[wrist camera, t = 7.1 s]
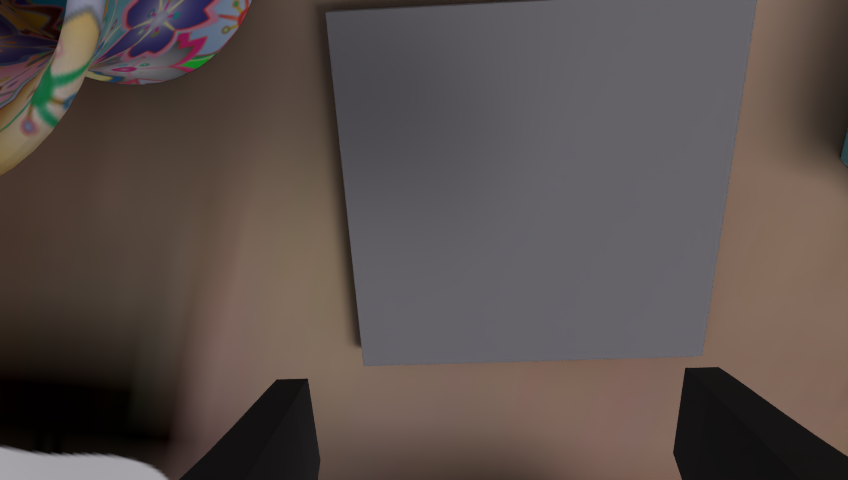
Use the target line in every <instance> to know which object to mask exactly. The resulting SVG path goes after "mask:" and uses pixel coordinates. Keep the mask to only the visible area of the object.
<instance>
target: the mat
mask: <svg viewBox="0 0 848 480" xmlns="http://www.w3.org/2000/svg"><path fill="white" fill-rule="evenodd" d="M756 3H757V0H516V1H497V2H479V3H460V4H441V5H423V6H404V7H385V8H366V9H348V10H331V11H328V12H325V14H326V23H327V33H328V42H329V51H330V60H331V69H332V79H333V88H334V97H335V106H336V116H337V125H338V134H339V143H340V153H341V162H342V171H343V180H344V189H345V199H346V208H347V217H348V226H349V236H350V245H351V254H352V263H353V272H354V282H355V291H356V300H357V309H358V319H359V328H360V337H361V346H362V356H363V365H364V366H381V365H416V364H451V363H486V362H520V361H555V360H590V359H624V358H659V357H694V356H702V352H703V346H704V339H705V333H706V327H707V320H708V314H709V307H710V301H711V294H712V288H713V281H714V275H715V268H716V262H717V255H718V249H719V243H720V236H721V230H722V223H723V217H724V210H725V204H726V197H727V191H728V184H729V178H730V171H731V165H732V159H733V152H734V146H735V139H736V133H737V126H738V120H739V113H740V107H741V100H742V94H743V87H744V81H745V74H746V68H747V62H748V55H749V49H750V42H751V36H752V29H753V23H754V16H755V10H756Z"/></svg>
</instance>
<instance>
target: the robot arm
mask: <svg viewBox="0 0 848 480" xmlns="http://www.w3.org/2000/svg"><path fill="white" fill-rule="evenodd" d="M673 454H674V457H675V460H676V463H677V466H678V469H679V472H680V475H681V478H682V480H848V457H847V456H846V455H844V454H843V453H841V452H840V451H838V450H837V449H835V448H834V447H832V446H831V445H829V444H828V443H826V442H825V441H823V440H822V439H820V438H819V437H817V436H816V435H814V434H813V433H811V432H810V431H809V430H807V429H806V428H804V427H803V426H801V425H800V424H798V423H797V422H796V421H794V420H793V419H791V418H790V417H789V416H787V415H786V414H784V413H783V412H781V411H780V410H779V409H777V408H776V407H774V406H773V405H772V404H770V403H769V402H768V401H766V400H765V399H763V398H762V397H761V396H759V395H758V394H756V393H755V392H754V391H752V390H751V389H749V388H748V387H747V386H745V385H744V384H742V383H741V382H740V381H738V380H737V379H735V378H734V377H732V376H731V375H730V374H728V373H727V372H725V371H723V370H722V369H720V368H719V367H707V368H685V374H684V381H683V388H682V395H681V402H680V409H679V416H678V423H677V430H676V437H675V444H674V451H673ZM319 466H320V455H319V449H318V442H317V436H316V429H315V423H314V416H313V410H312V403H311V397H310V390H309V384H308V379H280V380H276V381H275V382H274V383H273V384H272V385H271V386H270V387H269V388H268V389H267V390H266V391H265V392H264V393H263V395H262V396H261V397H260V398H259V399H258V400H257V401H256V402H255V403H254V404H253V405H252V406H251V408H250V409H249V410H248V411H247V412H246V413H245V414H244V415H243V416H242V417H241V418H240V419H239V421H238V422H237V423H236V424H235V425H234V426H233V427H232V428H231V429H230V430H229V431H228V432H227V433H226V434H225V435H224V436H223V437H222V438H221V439H220V440H219V441H218V442H217V443H216V444H215V446H214V447H213V448H212V449H211V450H210V451H209V452H208V453H207V454H206V455H205V456H204V457H203V458H202V459H201V460H200V461H198V462H197V463H196V464H195V465H194V466H193V467H192V468H191V469H190V470H189V471H188V472H187V473H186V474H185V475H184V476H183V477H181V478H180V479H179V480H318V473H319Z"/></svg>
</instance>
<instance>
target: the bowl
mask: <svg viewBox="0 0 848 480" xmlns="http://www.w3.org/2000/svg"><path fill="white" fill-rule="evenodd" d="M840 160H841V161H842V162H843V163H844V164H845V165H846V166H847V167H848V128H847V132H846V137H845V141H844V146H843V150H842V154H841V159H840Z"/></svg>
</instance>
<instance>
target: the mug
mask: <svg viewBox="0 0 848 480" xmlns="http://www.w3.org/2000/svg"><path fill="white" fill-rule="evenodd" d="M251 1H252V0H0V176H1V175H2V174H4V173H6V172H7V171H9V170H10V169H12V168H13V167H15V166H16V165H17V164H19V163H20V162H21V161H22V160H23V159H25V158H26V157H27V156H28V155H29V154H31V153H32V152H33V151H34V150H35V149H36V148H37V147H38V146H39V145H40V144H41V143H42V142H43V141H44V140H45V138H46V137H47V136H48V135H49V134H50V133H51V132H52V131H53V129H54V128H55V127H56V125H57V124H58V122H59V121H60V120H61V118H62V117H63V115H64V114H65V113H66V111H67V110H68V108H69V107H70V105H71V103H72V101H73V100H74V98H75V96H76V94H77V92H78V90H79V89H80V87H81V85H82V83H83V81H84V78H85V76H86V77H89V78H93V79H96V80H100V81H106V82H111V83H117V84H129V85H137V84H151V83H159V82H163V81H167V80H171V79H174V78H177V77H180V76H183V75H185V74H187V73H189V72H191V71H193V70H195V69H197V68H198V67H200V66H202V65H203V64H205V63H206V62H208V61H209V60H210V59H211V58H213V57H214V56H215V55H216V54H217V53H218V52H219V51H220V50H221V49H222V48H223V47H224V46H225V45H226V44H227V43H228V42H229V40H230V39H231V38H232V37H233V35H234V34H235V33H236V31H237V30H238V28H239V26H240V25H241V23H242V21H243V19H244V17H245V15H246V13H247V11H248V9H249V7H250V4H251Z"/></svg>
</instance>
